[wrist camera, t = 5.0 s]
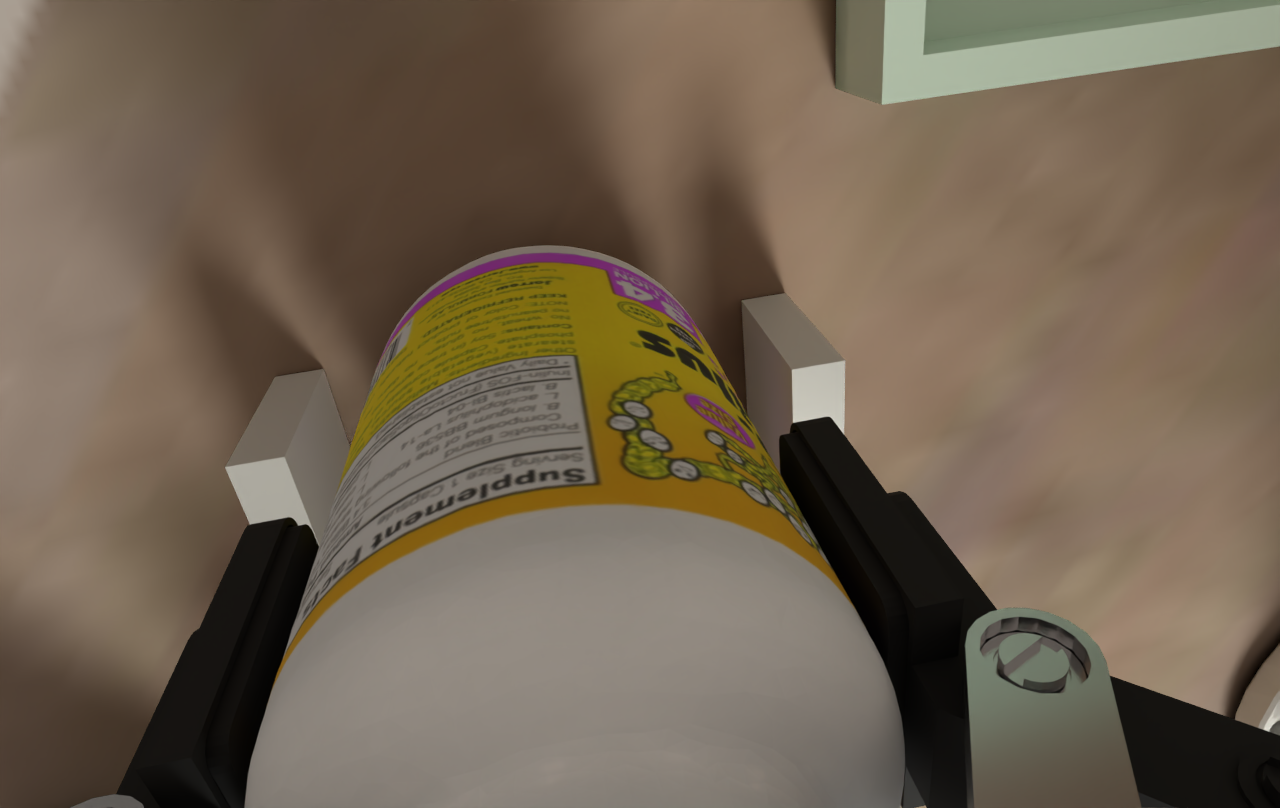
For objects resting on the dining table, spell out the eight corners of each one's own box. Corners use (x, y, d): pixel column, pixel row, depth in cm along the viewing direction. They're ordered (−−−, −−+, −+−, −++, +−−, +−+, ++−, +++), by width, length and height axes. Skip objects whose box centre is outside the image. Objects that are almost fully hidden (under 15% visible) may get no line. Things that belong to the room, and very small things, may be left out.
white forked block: (829, 285, 18) (1123, 567, 9) (827, 779, 26) (982, 1162, 18) (225, 385, 17) (-48, 799, 8) (423, 865, 25) (384, 1316, 17)
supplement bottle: (745, 459, 18) (1153, 1280, 7) (469, 566, 18) (418, 1531, 7) (645, 175, 15) (1119, 852, 3) (309, 310, 15) (-281, 1360, 4)
